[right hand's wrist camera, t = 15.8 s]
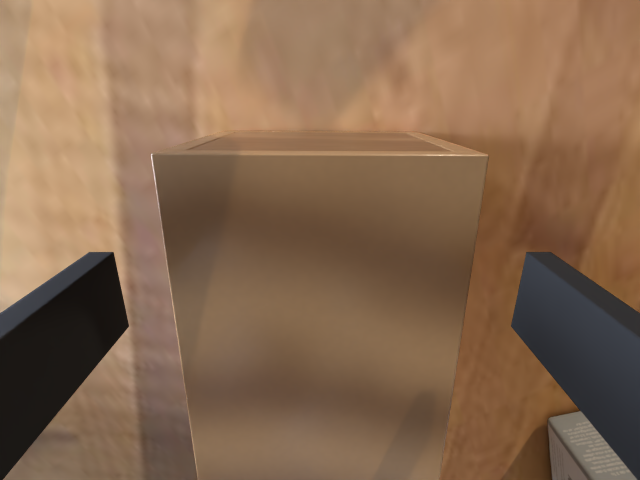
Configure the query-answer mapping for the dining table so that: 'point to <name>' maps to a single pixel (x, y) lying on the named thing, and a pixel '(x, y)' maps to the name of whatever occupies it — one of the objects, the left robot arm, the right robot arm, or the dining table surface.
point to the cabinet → (319, 298)
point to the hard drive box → (582, 451)
